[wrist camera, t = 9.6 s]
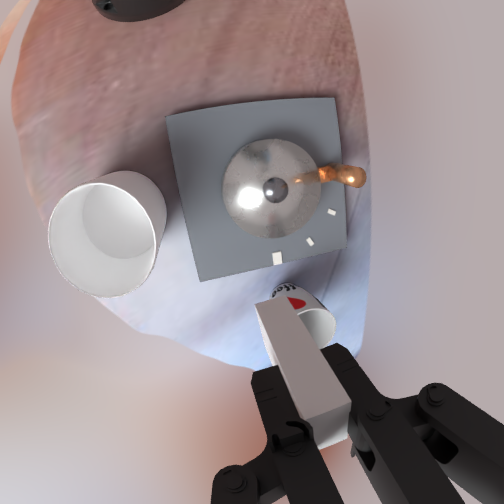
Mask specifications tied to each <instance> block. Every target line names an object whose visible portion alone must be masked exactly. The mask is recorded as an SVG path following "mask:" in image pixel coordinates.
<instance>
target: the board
mask: <svg viewBox="0 0 504 504" xmlns="http://www.w3.org/2000/svg"><path fill="white" fill-rule="evenodd" d="M165 118H166V124H167V130H168V136H169V142H170V148H171V153H172V159H173V164H174V169H175V174H176V179H177V184H178V189H179V194H180V199H181V204H182V208H183V213H184V217H185V222H186V226H187V231H188V235H189V239H190V244H191V248H192V252H193V256H194V260H195V264H196V268H197V272H198V276H199V280H200V282H203V281H207V280H212V279H216V278H221V277H225V276H230V275H234V274H239V273H243V272H247V271H252V270H256V269H260V268H265V267H269V266H273V265H277V264H282V263H286V262H290V261H294V260H299V259H303V258H307V257H311V256H315V255H319V254H324V253H328V252H332V251H336V250H340V249H344V248H347V236H346V209H345V191H344V184H342V183H339V182H335V181H329V182H324V183H321V194H320V199H319V203H318V206H317V208H316V210H315V212H314V214H313V215H312V217H311V218H310V220H309V221H308V222H307V223H306V224H305V225H304V226H303V227H302V228H300V229H299V230H297V231H296V232H294V233H292V234H290V235H287V236H285V237H280V238H273V239H269V238H260V237H257V236H254V235H251V234H249V233H247V232H246V231H244V230H243V229H241V228H240V227H239V226H238V225H237V224H236V223H235V222H234V221H233V219H232V218H231V216H230V215H229V213H228V211H227V209H226V207H225V205H224V203H223V200H222V195H221V180H222V175H223V172H224V169H225V167H226V165H227V163H228V162H229V160H230V159H231V157H232V156H233V155H234V154H235V153H236V152H237V151H238V150H239V149H241V148H242V147H244V146H245V145H247V144H249V143H252V142H255V141H258V140H265V139H281V140H286V141H289V142H292V143H294V144H296V145H298V146H299V147H301V148H302V149H303V150H305V151H306V152H307V153H308V154H309V155H310V156H311V158H312V159H313V161H314V162H315V164H316V166H317V167H321V166H325V165H327V164H329V163H340V164H342V154H341V144H340V135H339V127H338V119H337V112H336V105H335V98H296V99H280V100H267V101H257V102H247V103H239V104H231V105H224V106H218V107H211V108H205V109H200V110H194V111H189V112H184V113H179V114H174V115H170V116H165Z"/></svg>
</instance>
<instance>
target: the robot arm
mask: <svg viewBox="0 0 504 504" xmlns="http://www.w3.org/2000/svg"><path fill="white" fill-rule="evenodd" d="M183 1H184V0H92V3H93V4H94V6H95V7H96V9H97V10H98V12H99V13H100V14H101V15H103V16H104V17H106V18H108V19H111V20H115V21H120V22H135V21H142V20H147V19H150V18H154V17H157V16H159V15H162V14H164V13H166V12H168V11H170V10H172V9H174V8H175V7H177V6H178V5H180V4H181V3H182V2H183ZM255 308H256V312H257V316H258V320H259V324H260V328H261V332H262V336H263V340H264V344H265V348H266V350H267V353H268V355H269V358H270V360H271V363H272V365H273V366H272V367H269V368H265V369H262V370H259V371H255V372H253V375H252V380H251V385H252V389H253V392H254V395H255V399H256V402H257V405H258V408H259V412H260V415H261V418H262V421H263V424H264V428H265V431H266V434H267V445H266V447H265V449H264V451H263V452H262V453H261V454H260V455H259V456H258V457H256V458H255V459H253V460H251V461H250V462H248V463H246V464H244V465H243V466H241V465H231V466H227V467H225V468H223V469H221V470H220V471H219V472H218V473H217V474H216V475H215V478H214V480H213V485H212V495H211V504H272V503H273V502H275V501H277V500H278V499H280V498H282V497H283V496H285V495H286V494H287V497H288V500H289V503H290V504H344V502H343V500H342V498H341V496H340V494H339V492H338V490H337V488H336V485H335V483H334V481H333V479H332V477H331V475H330V473H329V471H328V468H327V466H326V464H325V462H324V460H323V458H322V455H321V453H320V451H319V449H322V448H325V447H327V446H330V445H332V444H335V443H337V442H339V441H342V440H344V439H346V438H347V434H349V436H350V438H351V440H352V441H353V444H352V448H351V456H352V457H354V456H355V454H356V456H357V458H358V460H359V462H360V464H361V465H362V467H363V469H364V471H365V473H366V475H367V476H368V478H369V480H370V482H371V484H372V486H373V488H374V490H375V491H376V493H377V495H378V497H379V498H380V501H381V502H382V504H465V502H464V501H463V500H462V498H461V496H460V495H459V493H458V492H457V490H456V489H455V488H454V486H453V485H452V483H451V482H450V480H449V479H448V477H449V478H450V479H451V480H452V481H454V482H455V483H456V484H458V485H459V486H460V487H461V488H463V489H464V490H465V491H467V492H468V493H469V494H470V495H472V496H473V497H474V498H476V499H477V500H478V501H480V502H481V503H482V504H504V425H503V424H502V423H500V422H499V421H497V420H496V419H494V418H493V417H491V416H490V415H488V414H487V413H486V412H484V411H483V410H481V409H480V408H478V407H477V406H475V405H474V404H472V403H471V402H470V401H468V400H467V399H465V398H464V397H462V396H461V395H459V394H458V393H456V392H455V391H453V390H452V389H450V388H449V387H448V386H446V385H444V384H441V383H431V384H428V385H426V386H425V387H423V388H422V390H421V391H420V393H419V394H418V395H414V396H410V397H406V398H401V399H391V398H388V397H385V396H383V395H382V394H380V392H379V391H378V390H377V389H376V388H375V386H374V385H373V383H372V382H371V381H370V379H369V378H368V377H367V375H366V374H365V372H364V371H363V370H362V369H361V367H360V366H359V364H358V363H357V361H356V360H355V359H354V357H353V356H352V355H351V353H350V352H349V350H348V349H347V348H345V347H343V346H342V345H340V344H338V343H335V344H333V345H330V346H327V347H325V348H322V349H319V348H318V346H317V345H316V343H315V341H314V340H313V338H312V337H311V335H310V333H309V332H308V330H307V329H306V327H305V325H304V324H303V322H302V321H301V319H300V317H299V316H298V314H297V313H296V311H295V309H294V308H293V306H292V305H291V303H290V301H289V300H288V298H287V297H286V295H283V296H280V297H277V298H274V299H270V300H267V301H264V302H260V303H257V304H255Z"/></svg>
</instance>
